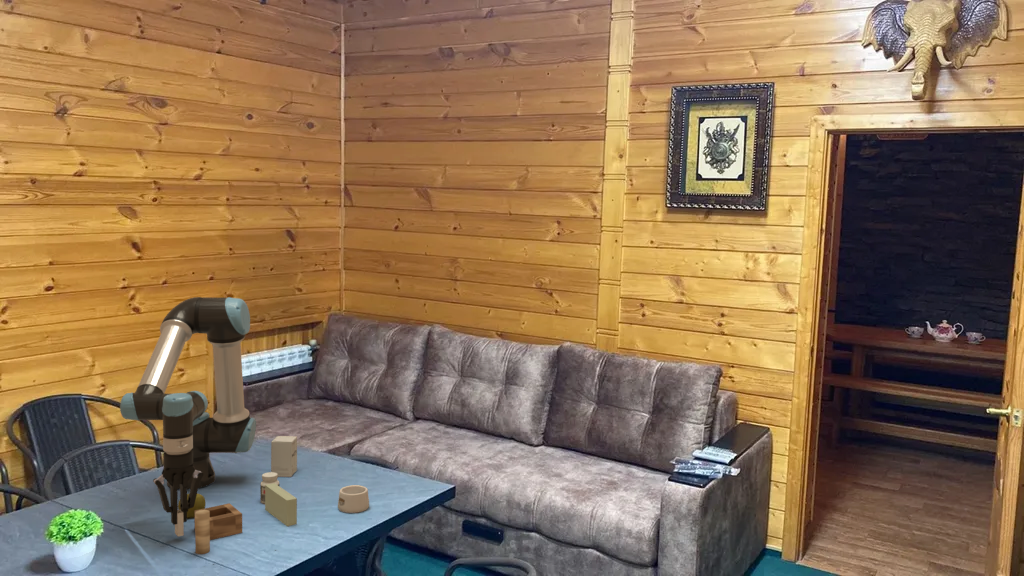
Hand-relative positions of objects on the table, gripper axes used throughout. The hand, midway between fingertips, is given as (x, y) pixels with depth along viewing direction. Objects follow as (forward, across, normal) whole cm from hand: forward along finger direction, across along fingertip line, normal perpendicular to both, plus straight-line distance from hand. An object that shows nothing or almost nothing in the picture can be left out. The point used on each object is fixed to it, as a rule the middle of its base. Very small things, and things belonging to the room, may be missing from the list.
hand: (179, 534), depth 219 cm
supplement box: (+3, +48, +40) cm, 62 cm away
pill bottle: (+3, +32, +14) cm, 35 cm away
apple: (+3, +9, +17) cm, 19 cm away
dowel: (+3, +3, -11) cm, 12 cm away
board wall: (+3, +17, 0) cm, 17 cm away
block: (+2, +11, 0) cm, 11 cm away
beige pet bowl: (+3, +52, -2) cm, 52 cm away
